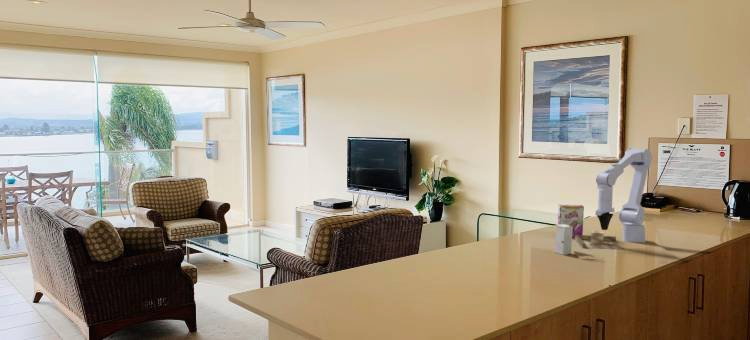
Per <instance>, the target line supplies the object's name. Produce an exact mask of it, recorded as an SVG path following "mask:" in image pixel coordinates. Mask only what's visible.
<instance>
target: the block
mask: <svg viewBox="0 0 750 340" xmlns="http://www.w3.org/2000/svg"><path fill="white" fill-rule="evenodd" d="M604 234H605V233H604V231H597V230H591V233H590V236H591V244H602V245H603V243H604V241H603V236H605V235H604Z"/></svg>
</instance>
